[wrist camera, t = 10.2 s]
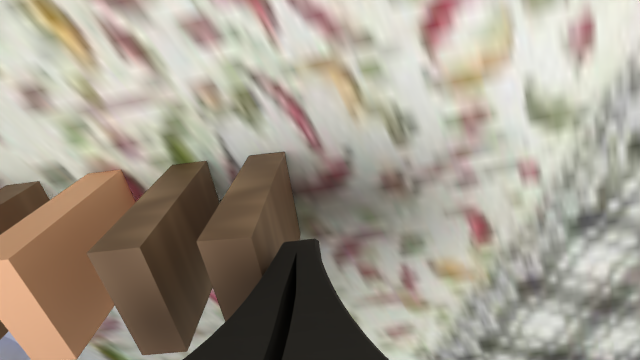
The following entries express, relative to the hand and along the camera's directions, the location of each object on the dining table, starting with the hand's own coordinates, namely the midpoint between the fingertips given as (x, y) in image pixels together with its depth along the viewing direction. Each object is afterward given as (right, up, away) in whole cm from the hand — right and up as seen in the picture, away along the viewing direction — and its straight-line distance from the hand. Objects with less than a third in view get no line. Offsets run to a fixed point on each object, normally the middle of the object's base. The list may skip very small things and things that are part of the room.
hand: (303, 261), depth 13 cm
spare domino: (-10, +1, +5) cm, 12 cm away
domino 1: (-2, +2, +5) cm, 6 cm away
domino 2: (-6, +2, +5) cm, 8 cm away
